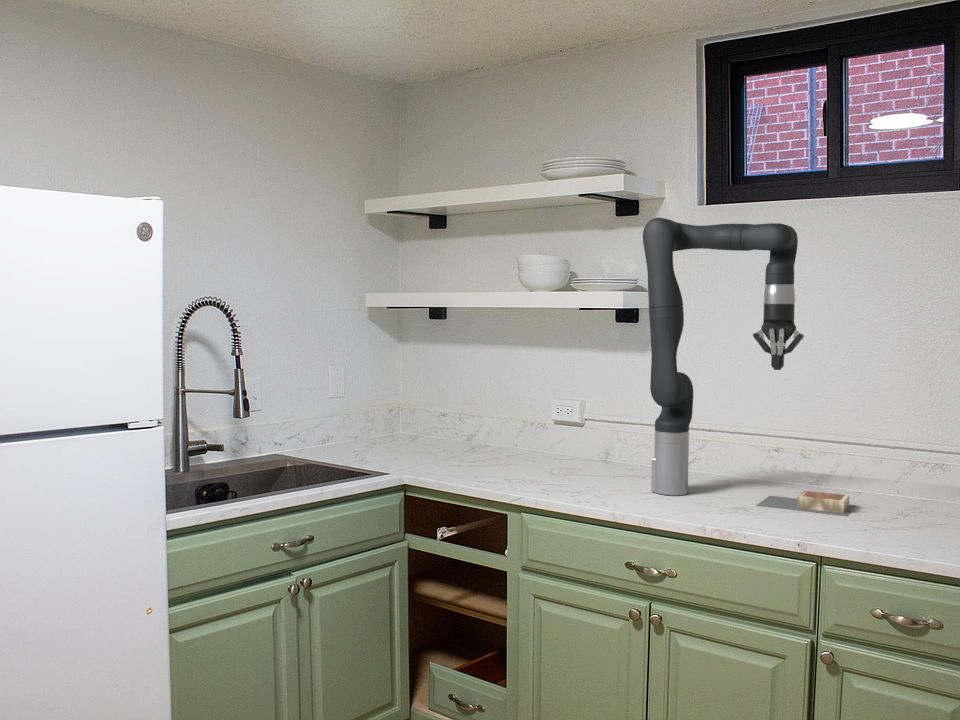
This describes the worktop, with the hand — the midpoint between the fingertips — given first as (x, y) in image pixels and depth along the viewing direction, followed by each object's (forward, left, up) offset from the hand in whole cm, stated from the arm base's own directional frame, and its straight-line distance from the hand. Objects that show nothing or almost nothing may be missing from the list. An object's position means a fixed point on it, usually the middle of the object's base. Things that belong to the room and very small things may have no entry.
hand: (777, 369), depth 234 cm
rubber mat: (+8, 0, -35) cm, 36 cm away
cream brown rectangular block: (+7, 0, -33) cm, 34 cm away
